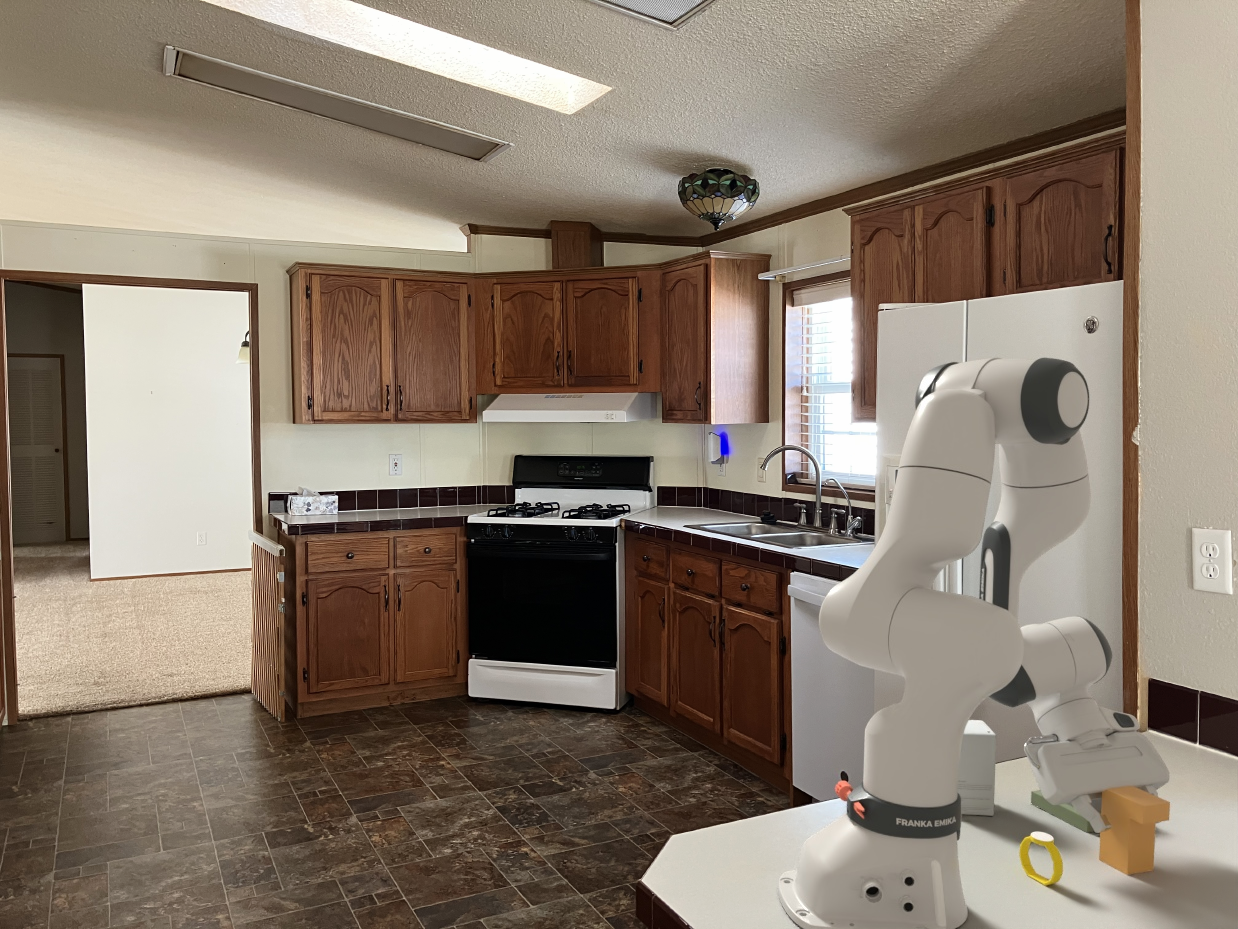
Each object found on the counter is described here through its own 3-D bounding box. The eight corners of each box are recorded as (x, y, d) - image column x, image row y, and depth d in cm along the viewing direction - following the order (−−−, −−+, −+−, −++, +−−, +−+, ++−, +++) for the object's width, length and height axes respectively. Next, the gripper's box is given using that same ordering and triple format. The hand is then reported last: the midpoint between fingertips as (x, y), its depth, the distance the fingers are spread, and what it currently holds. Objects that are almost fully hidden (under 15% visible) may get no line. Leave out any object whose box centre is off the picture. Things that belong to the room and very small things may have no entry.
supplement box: (981, 798, 152) (984, 719, 152) (994, 817, 145) (997, 734, 144) (933, 795, 153) (936, 717, 153) (944, 814, 146) (947, 732, 145)
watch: (1065, 890, 123) (1070, 846, 122) (1049, 894, 122) (1053, 849, 121) (1029, 866, 129) (1033, 824, 128) (1013, 870, 127) (1017, 827, 127)
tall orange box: (1099, 859, 131) (1102, 787, 131) (1124, 855, 133) (1127, 784, 132) (1140, 882, 125) (1143, 806, 125) (1166, 877, 127) (1169, 802, 126)
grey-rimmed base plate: (1086, 832, 140) (1088, 798, 140) (1030, 803, 150) (1032, 772, 150) (1143, 823, 144) (1145, 790, 144) (1085, 796, 154) (1086, 765, 154)
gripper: (1031, 727, 132) (1085, 826, 123) (1143, 715, 139) (1202, 807, 130) (1006, 749, 137) (1057, 846, 128) (1117, 736, 144) (1171, 826, 135)
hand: (1131, 826), depth 129 cm, fingers open, 8 cm apart
